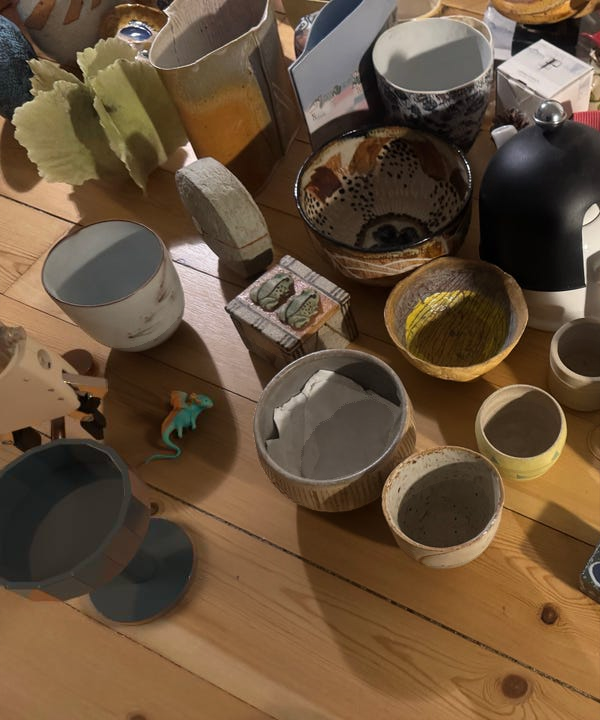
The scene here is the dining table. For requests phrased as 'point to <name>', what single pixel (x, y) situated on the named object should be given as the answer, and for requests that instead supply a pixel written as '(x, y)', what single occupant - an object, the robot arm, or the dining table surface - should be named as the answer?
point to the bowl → (89, 534)
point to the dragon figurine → (182, 416)
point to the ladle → (84, 366)
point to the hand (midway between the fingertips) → (69, 437)
